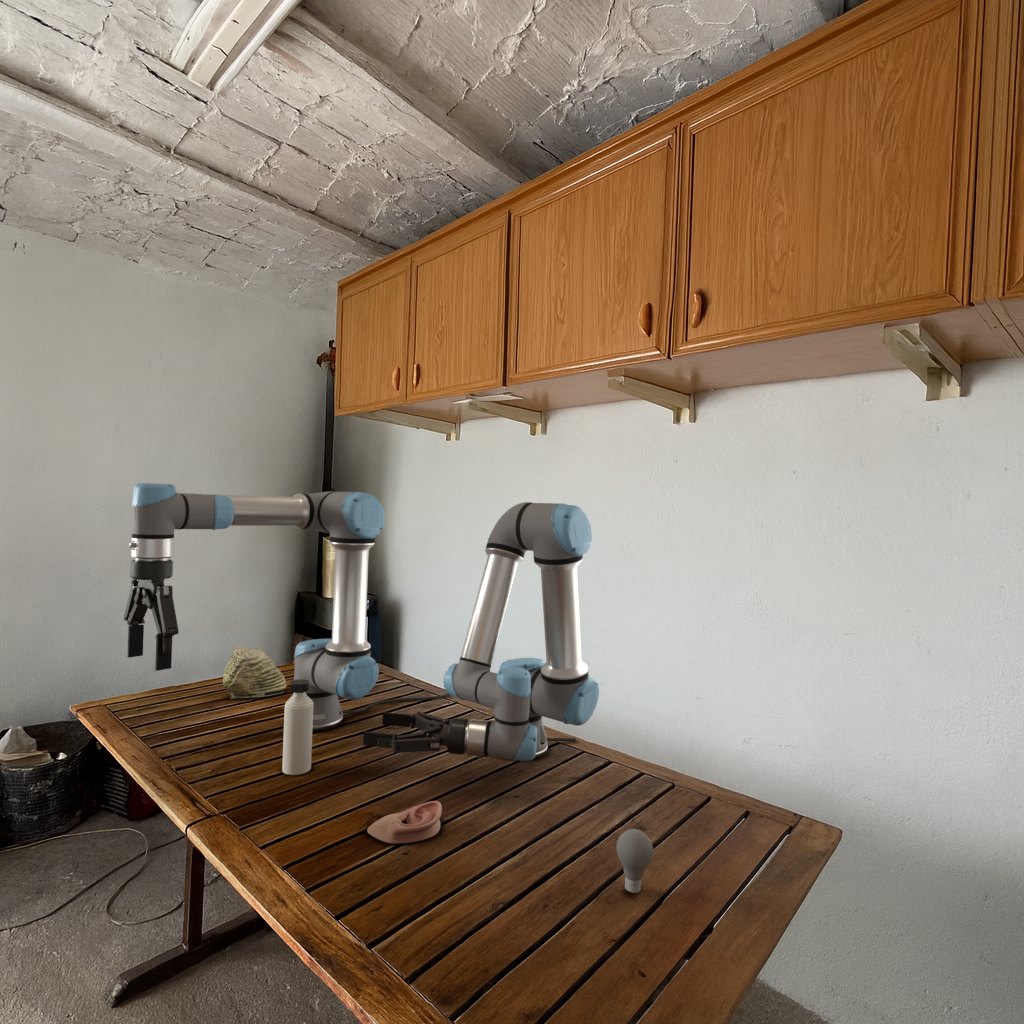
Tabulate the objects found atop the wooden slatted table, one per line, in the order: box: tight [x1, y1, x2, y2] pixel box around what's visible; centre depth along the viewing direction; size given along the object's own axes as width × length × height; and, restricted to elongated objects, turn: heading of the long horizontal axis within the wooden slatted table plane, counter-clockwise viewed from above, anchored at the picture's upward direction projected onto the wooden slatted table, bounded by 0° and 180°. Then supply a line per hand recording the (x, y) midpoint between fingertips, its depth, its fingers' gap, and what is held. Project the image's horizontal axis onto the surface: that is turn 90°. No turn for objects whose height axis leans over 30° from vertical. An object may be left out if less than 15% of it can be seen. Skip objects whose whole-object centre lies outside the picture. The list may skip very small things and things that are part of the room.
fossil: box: [222, 646, 288, 699], centre depth 198 cm, size 9×18×15 cm, turn 132°
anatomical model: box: [366, 800, 443, 845], centre depth 122 cm, size 13×4×12 cm
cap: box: [290, 679, 309, 693], centre depth 146 cm, size 4×4×2 cm
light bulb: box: [615, 828, 654, 894], centre depth 106 cm, size 6×6×10 cm
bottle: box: [281, 692, 313, 776], centre depth 146 cm, size 6×6×20 cm
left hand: (148, 662), depth 129 cm, fingers open, 13 cm apart
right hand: (373, 727), depth 142 cm, fingers open, 13 cm apart
